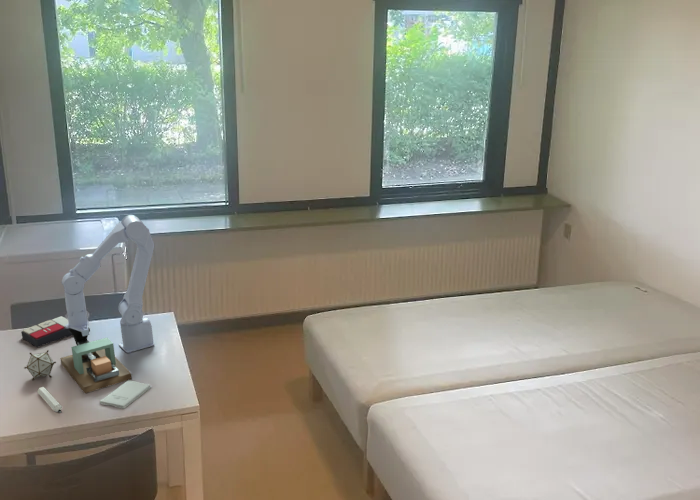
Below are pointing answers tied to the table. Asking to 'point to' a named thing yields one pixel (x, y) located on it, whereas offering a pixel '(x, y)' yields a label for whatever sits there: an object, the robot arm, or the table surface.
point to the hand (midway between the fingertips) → (82, 348)
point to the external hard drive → (125, 394)
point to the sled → (89, 370)
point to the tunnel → (90, 348)
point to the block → (101, 365)
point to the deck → (86, 381)
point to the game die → (40, 365)
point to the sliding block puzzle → (47, 332)
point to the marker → (49, 399)
